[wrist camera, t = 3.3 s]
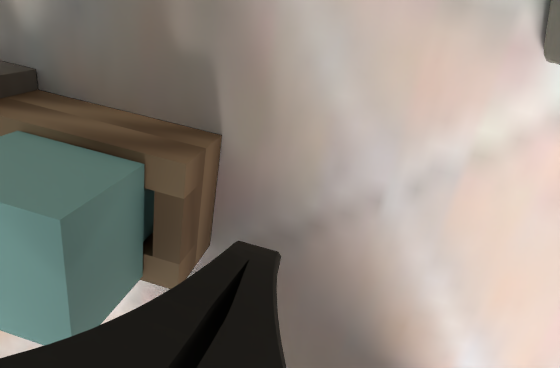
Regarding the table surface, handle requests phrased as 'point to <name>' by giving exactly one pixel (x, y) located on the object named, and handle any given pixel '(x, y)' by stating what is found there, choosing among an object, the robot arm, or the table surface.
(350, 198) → the table surface
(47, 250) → the block
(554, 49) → the skincare box
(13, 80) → the wooden slide track
